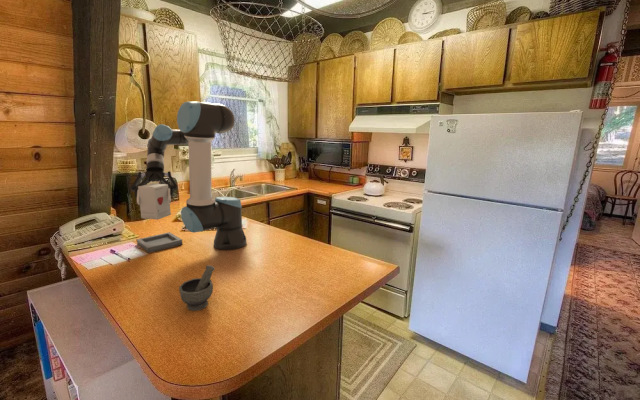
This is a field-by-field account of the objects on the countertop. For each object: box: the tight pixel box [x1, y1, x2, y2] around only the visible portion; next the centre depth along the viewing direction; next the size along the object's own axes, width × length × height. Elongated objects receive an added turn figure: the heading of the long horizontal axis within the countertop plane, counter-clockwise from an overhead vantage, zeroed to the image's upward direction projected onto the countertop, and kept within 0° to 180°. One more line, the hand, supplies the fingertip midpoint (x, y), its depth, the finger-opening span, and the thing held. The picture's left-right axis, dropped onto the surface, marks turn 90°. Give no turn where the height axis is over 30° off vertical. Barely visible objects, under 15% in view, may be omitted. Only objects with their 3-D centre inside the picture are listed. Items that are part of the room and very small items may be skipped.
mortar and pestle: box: [178, 264, 216, 312], centre depth 94 cm, size 11×9×12 cm
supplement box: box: [138, 182, 172, 220], centre depth 139 cm, size 9×9×15 cm
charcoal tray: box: [136, 231, 183, 254], centre depth 143 cm, size 15×15×2 cm
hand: (154, 202), depth 136 cm, fingers closed on supplement box, 12 cm apart
